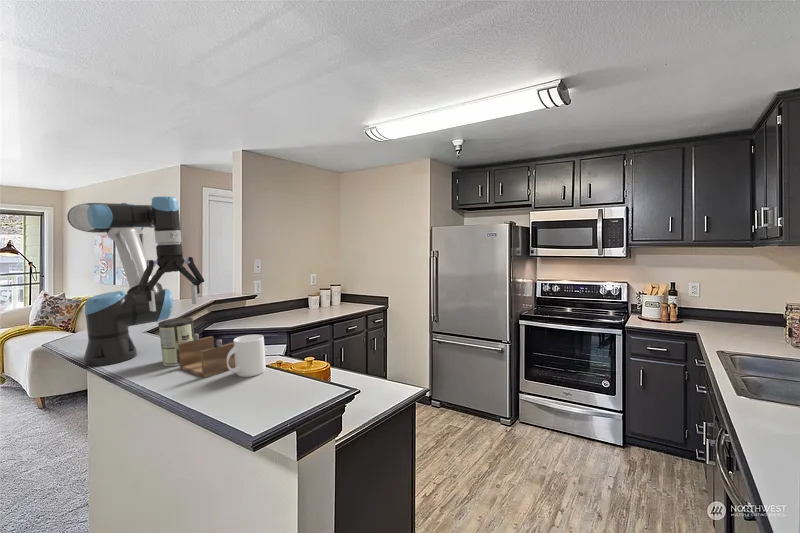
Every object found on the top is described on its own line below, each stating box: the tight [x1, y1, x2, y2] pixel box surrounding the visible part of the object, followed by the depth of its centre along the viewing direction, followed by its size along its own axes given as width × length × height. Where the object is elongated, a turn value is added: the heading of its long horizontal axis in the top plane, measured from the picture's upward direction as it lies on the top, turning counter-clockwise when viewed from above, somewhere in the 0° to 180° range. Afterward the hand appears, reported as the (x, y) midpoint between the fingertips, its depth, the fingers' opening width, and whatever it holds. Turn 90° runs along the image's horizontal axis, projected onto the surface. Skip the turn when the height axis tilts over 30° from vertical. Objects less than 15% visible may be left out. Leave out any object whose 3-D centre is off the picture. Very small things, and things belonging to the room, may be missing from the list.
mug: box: [227, 334, 266, 378], centre depth 122 cm, size 9×12×11 cm
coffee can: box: [157, 317, 195, 367], centre depth 137 cm, size 10×10×14 cm
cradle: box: [178, 333, 235, 379], centre depth 130 cm, size 16×11×10 cm
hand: (174, 307), depth 136 cm, fingers open, 13 cm apart
